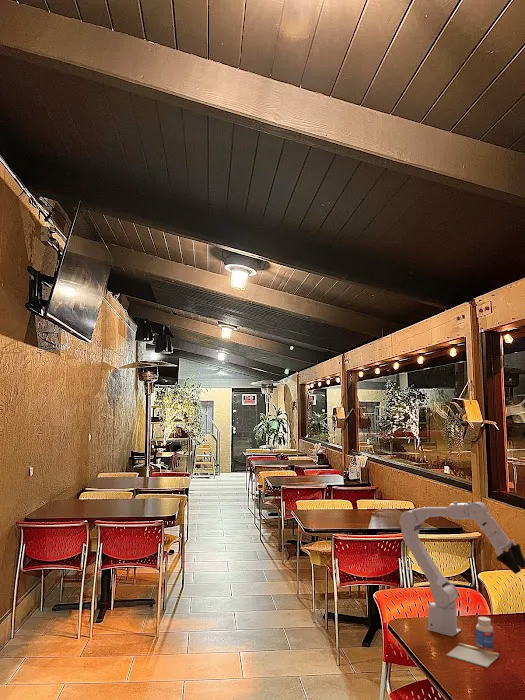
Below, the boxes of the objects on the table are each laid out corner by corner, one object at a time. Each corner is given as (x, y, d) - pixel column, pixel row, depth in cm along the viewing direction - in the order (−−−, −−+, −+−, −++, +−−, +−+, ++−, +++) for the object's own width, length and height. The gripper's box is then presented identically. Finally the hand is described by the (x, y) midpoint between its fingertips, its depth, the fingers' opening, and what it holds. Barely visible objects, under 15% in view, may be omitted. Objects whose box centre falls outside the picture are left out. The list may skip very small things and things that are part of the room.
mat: (446, 655, 182) (446, 654, 182) (458, 646, 190) (458, 645, 190) (487, 667, 174) (487, 666, 174) (498, 657, 181) (497, 656, 181)
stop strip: (458, 646, 190) (458, 643, 190) (459, 645, 190) (459, 642, 190) (498, 657, 181) (497, 654, 181) (499, 656, 182) (498, 653, 182)
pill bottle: (485, 653, 184) (484, 622, 185) (472, 647, 189) (471, 617, 190) (497, 650, 187) (496, 620, 188) (484, 644, 191) (483, 614, 193)
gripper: (497, 531, 189) (524, 569, 182) (510, 524, 200) (537, 559, 194) (480, 542, 192) (507, 579, 186) (494, 534, 203) (520, 569, 197)
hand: (521, 569), depth 190 cm, fingers open, 7 cm apart
